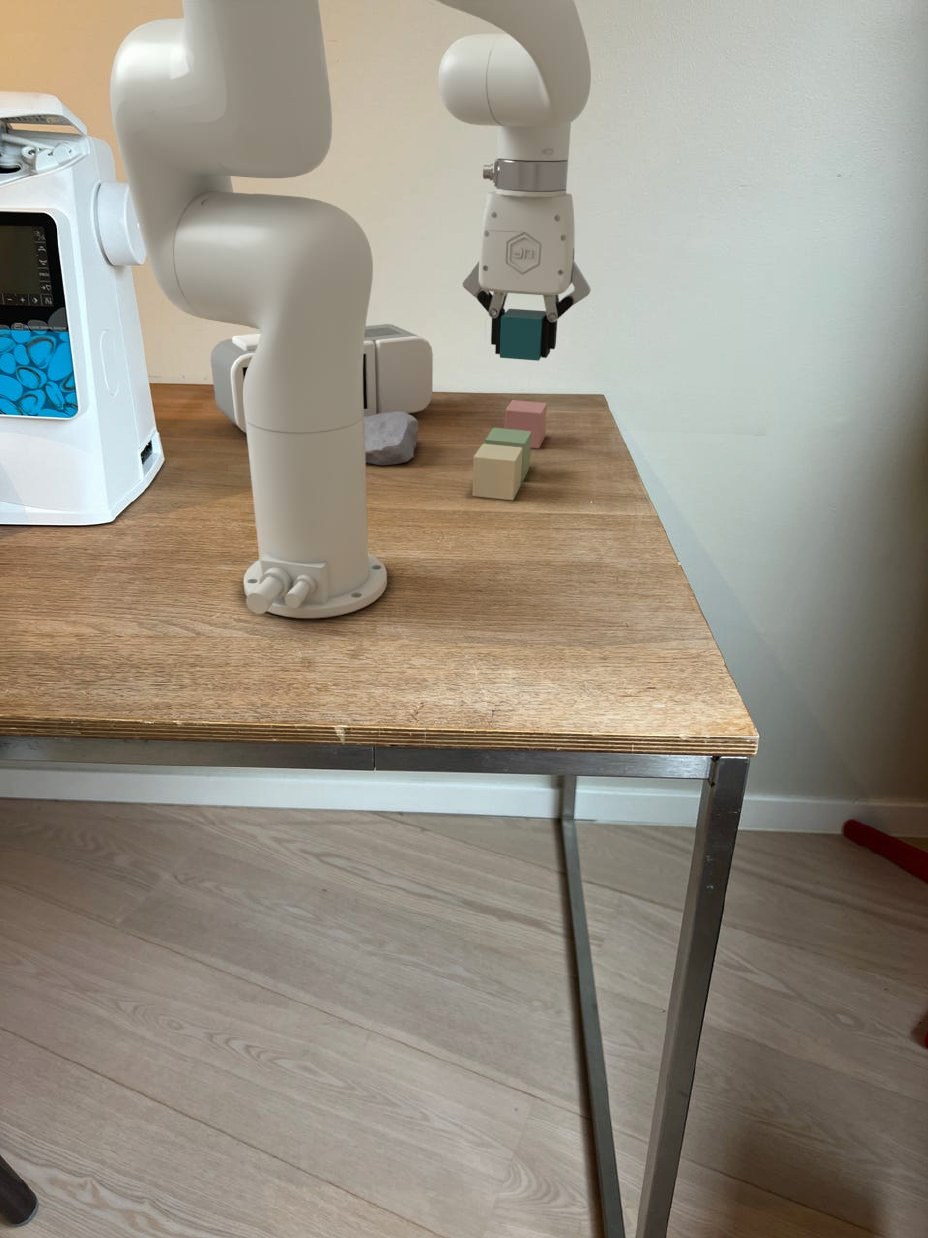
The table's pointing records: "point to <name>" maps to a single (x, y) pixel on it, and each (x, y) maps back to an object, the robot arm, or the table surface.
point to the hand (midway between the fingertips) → (522, 351)
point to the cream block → (497, 471)
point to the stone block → (390, 438)
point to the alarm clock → (389, 372)
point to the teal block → (521, 334)
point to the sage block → (513, 443)
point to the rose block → (527, 419)
